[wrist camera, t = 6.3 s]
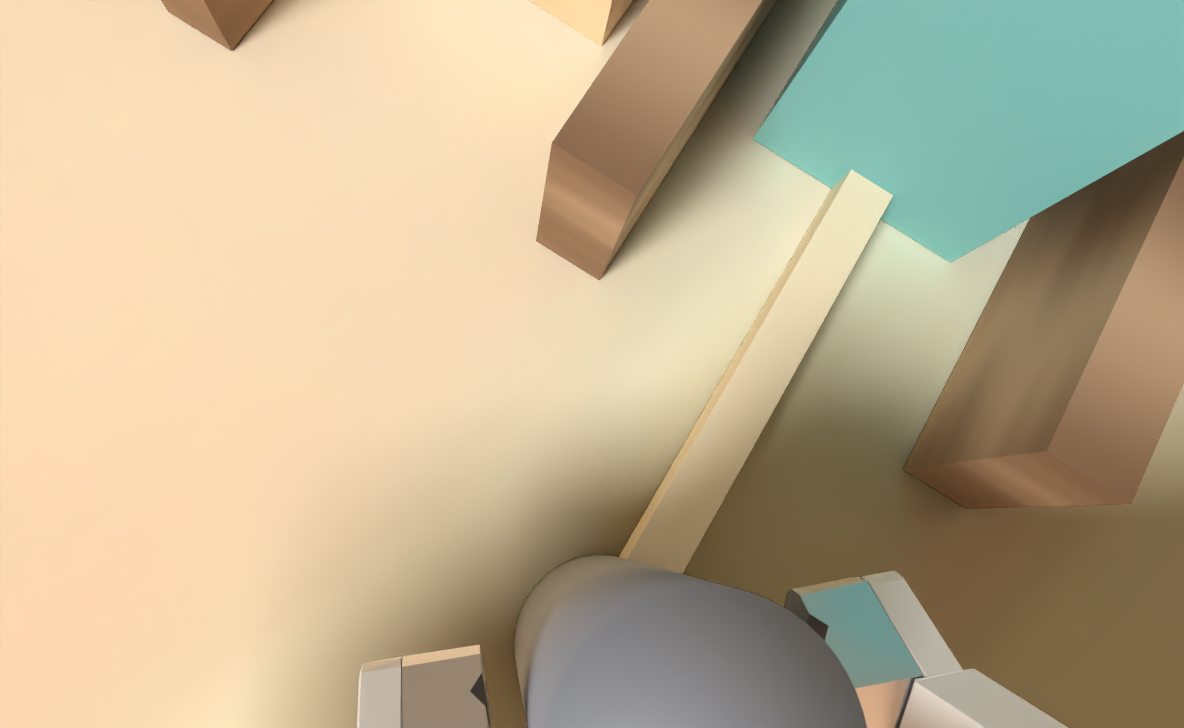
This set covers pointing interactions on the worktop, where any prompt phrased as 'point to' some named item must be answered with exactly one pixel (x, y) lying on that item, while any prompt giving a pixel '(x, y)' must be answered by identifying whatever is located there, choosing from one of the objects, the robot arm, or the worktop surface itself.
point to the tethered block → (804, 297)
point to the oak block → (587, 15)
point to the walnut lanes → (1010, 319)
